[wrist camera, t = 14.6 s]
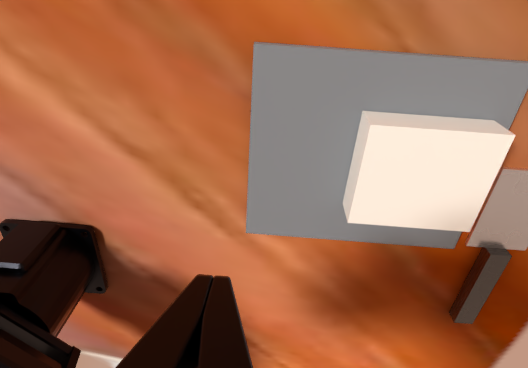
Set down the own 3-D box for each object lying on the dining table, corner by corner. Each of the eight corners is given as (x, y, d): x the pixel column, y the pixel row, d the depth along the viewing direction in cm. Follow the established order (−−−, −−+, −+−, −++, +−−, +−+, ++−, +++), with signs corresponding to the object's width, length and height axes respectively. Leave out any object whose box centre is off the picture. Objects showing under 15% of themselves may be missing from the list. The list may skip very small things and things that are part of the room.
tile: (342, 202, 22) (454, 210, 22) (347, 222, 20) (469, 231, 20) (362, 110, 18) (493, 119, 18) (370, 124, 17) (515, 135, 17)
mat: (450, 242, 24) (453, 248, 23) (246, 227, 24) (245, 232, 23) (531, 61, 17) (538, 64, 17) (254, 41, 18) (253, 43, 17)
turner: (482, 314, 27) (489, 325, 26) (432, 310, 27) (437, 321, 27) (567, 171, 21) (580, 180, 20) (500, 166, 21) (510, 174, 20)
